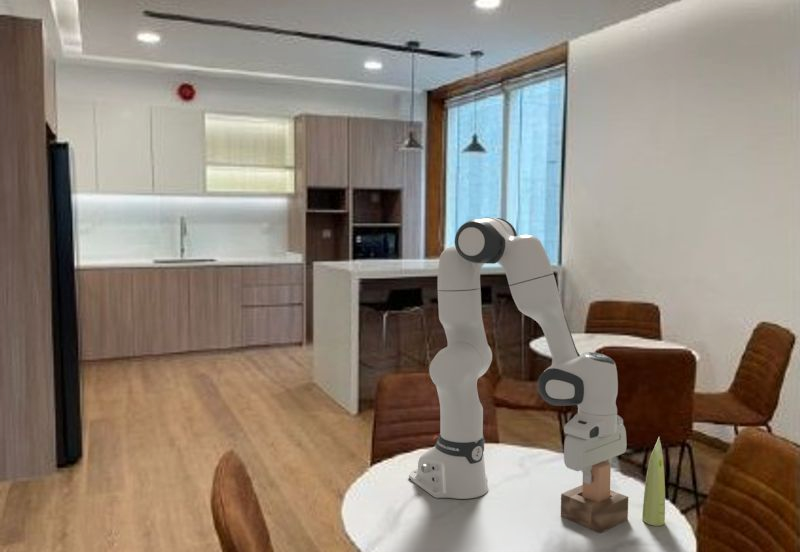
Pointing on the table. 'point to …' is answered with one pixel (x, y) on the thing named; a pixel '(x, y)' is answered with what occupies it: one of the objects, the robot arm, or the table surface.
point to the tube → (655, 489)
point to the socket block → (594, 509)
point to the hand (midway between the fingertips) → (596, 479)
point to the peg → (598, 483)
